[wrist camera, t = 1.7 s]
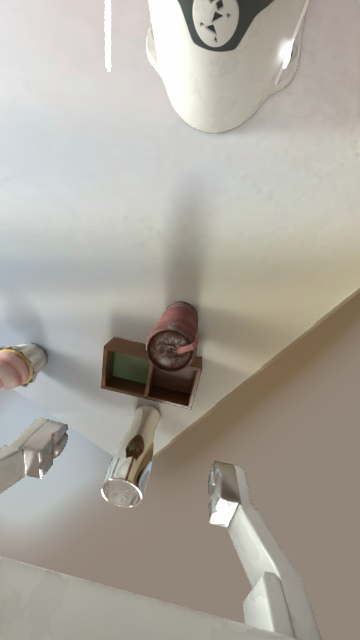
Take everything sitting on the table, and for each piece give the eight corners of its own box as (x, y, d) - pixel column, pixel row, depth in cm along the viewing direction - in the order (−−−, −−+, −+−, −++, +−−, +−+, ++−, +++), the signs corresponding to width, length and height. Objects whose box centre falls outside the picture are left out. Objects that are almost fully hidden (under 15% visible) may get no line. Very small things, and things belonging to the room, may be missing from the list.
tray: (114, 337, 36) (103, 345, 33) (202, 357, 36) (202, 368, 32) (110, 375, 39) (100, 388, 36) (191, 395, 39) (190, 409, 35)
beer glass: (165, 407, 40) (147, 486, 26) (159, 430, 43) (139, 513, 29) (135, 399, 41) (101, 473, 26) (131, 422, 43) (97, 501, 29)
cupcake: (61, 354, 39) (17, 384, 30) (43, 380, 42) (-3, 415, 32) (24, 326, 38) (-34, 348, 28) (8, 355, 41) (-51, 384, 31)
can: (204, 323, 34) (208, 362, 20) (175, 337, 35) (160, 382, 22) (189, 294, 32) (182, 316, 19) (159, 310, 34) (133, 341, 20)
